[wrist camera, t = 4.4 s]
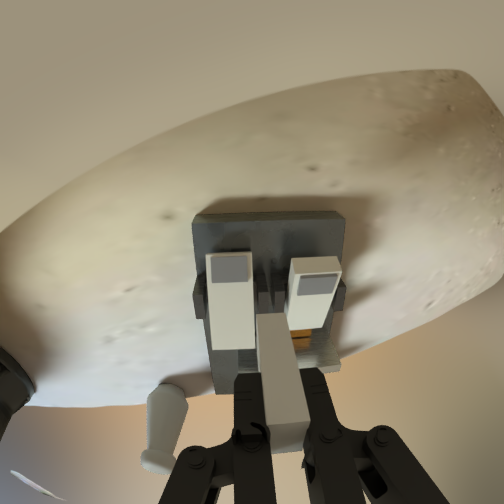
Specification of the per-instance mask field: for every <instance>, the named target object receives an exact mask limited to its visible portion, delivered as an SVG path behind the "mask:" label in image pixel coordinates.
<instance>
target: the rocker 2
mask: <svg viewBox="0 0 504 504" xmlns="http://www.w3.org/2000/svg"><path fill="white" fill-rule="evenodd" d="M341 274H342V269H341V266H340V263H339V261H338V258H337V256H326V257H304V258H291V265H290V272H289V279H288V286H287V292H286V299H285V305H284V313H286V317H287V322H288V326H289V330H302V329H313V328H322V326H323V323H324V321H325V318H326V316H327V313H328V310H329V308H330V305H331V302H332V299H333V297H334V294H335V291H336V288H337V285H338V283H339V280H340V277H341Z"/></svg>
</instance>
